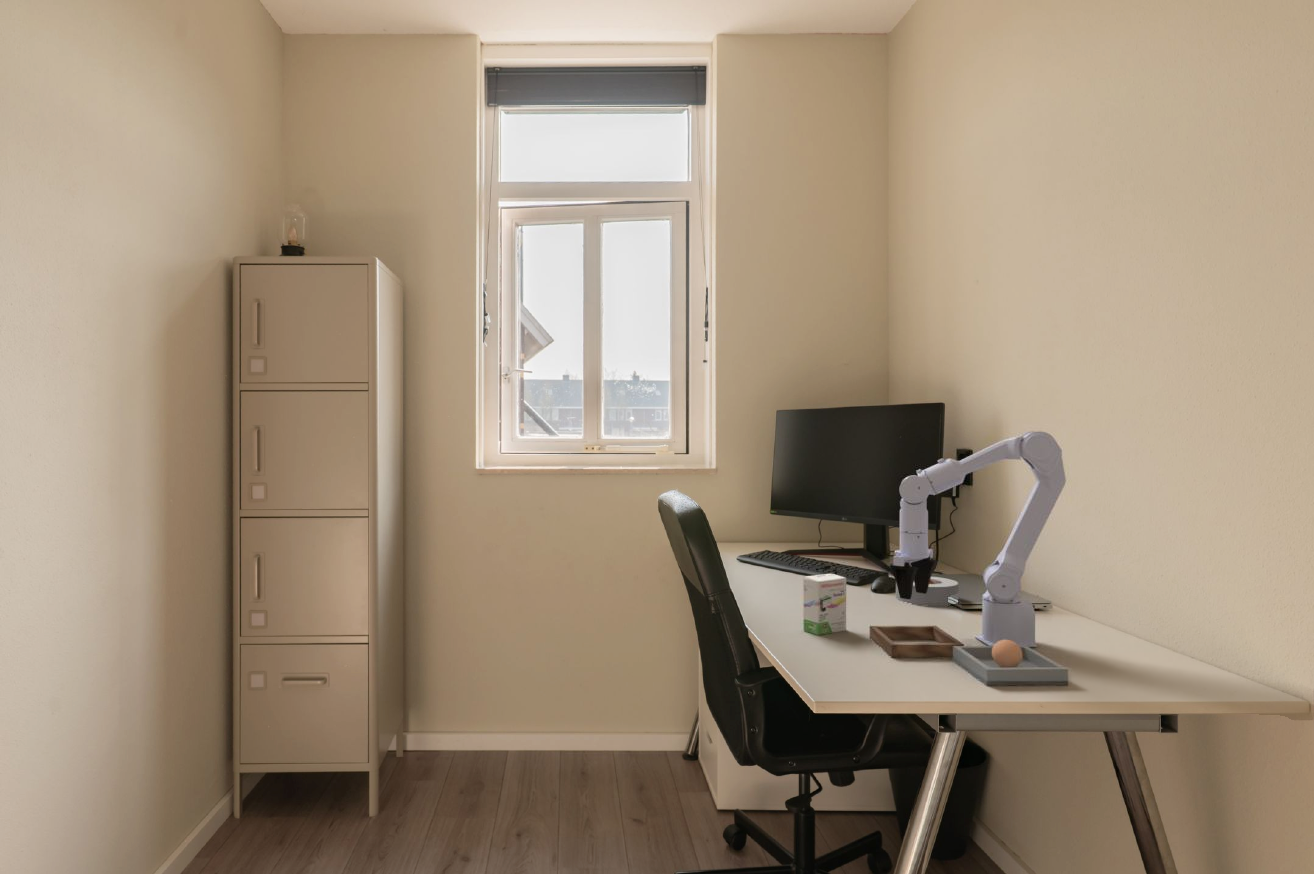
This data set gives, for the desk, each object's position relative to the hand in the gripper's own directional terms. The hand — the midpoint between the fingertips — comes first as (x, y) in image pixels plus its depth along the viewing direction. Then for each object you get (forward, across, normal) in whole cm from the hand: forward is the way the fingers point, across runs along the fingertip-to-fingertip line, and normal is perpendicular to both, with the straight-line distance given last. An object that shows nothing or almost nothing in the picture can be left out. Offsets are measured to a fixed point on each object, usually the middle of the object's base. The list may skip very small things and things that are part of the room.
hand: (913, 595), depth 160 cm
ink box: (+9, +10, -16) cm, 20 cm away
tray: (+8, +12, +23) cm, 28 cm away
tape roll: (+9, -35, -13) cm, 38 cm away
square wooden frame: (+8, +8, +4) cm, 13 cm away
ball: (+5, +12, +23) cm, 27 cm away
